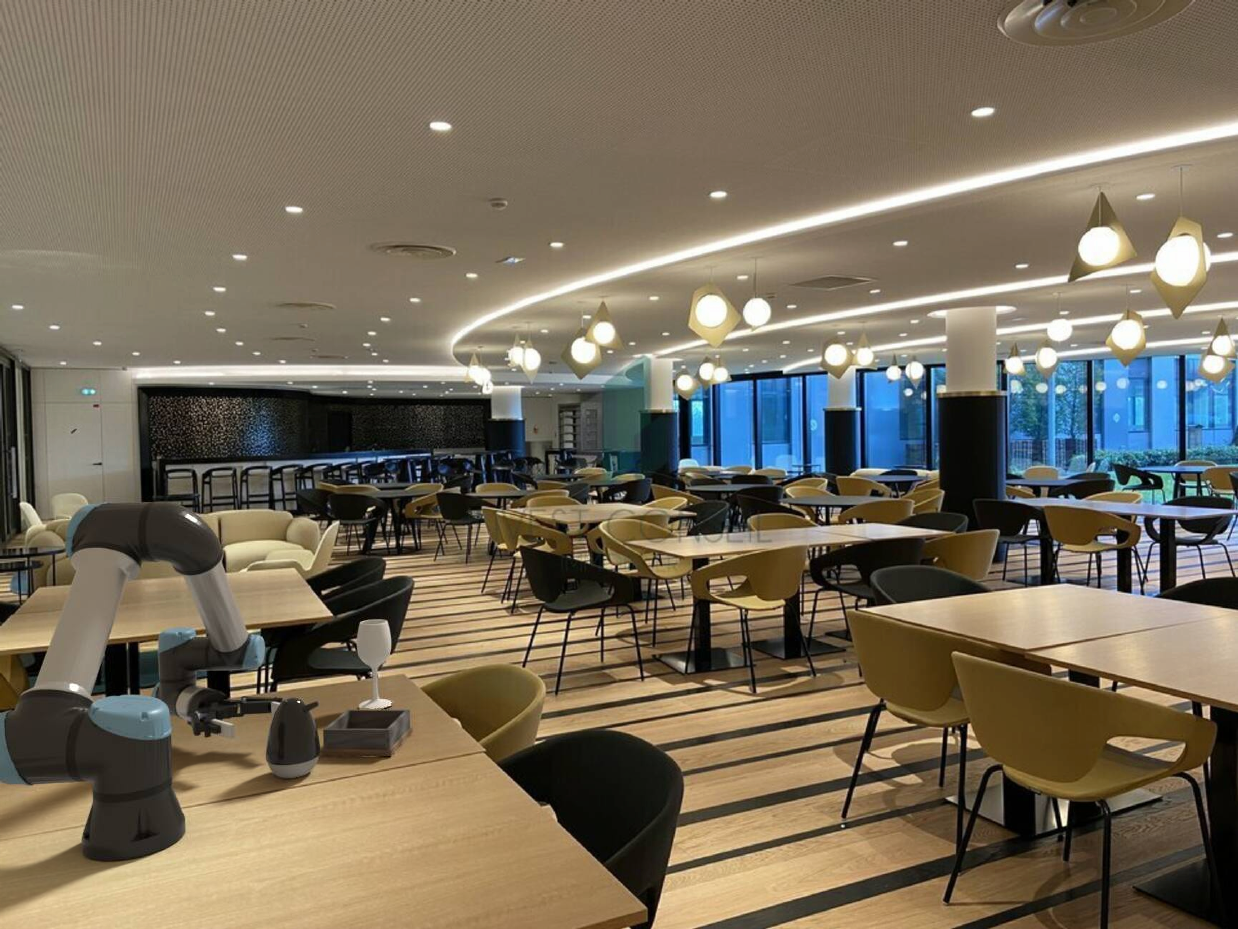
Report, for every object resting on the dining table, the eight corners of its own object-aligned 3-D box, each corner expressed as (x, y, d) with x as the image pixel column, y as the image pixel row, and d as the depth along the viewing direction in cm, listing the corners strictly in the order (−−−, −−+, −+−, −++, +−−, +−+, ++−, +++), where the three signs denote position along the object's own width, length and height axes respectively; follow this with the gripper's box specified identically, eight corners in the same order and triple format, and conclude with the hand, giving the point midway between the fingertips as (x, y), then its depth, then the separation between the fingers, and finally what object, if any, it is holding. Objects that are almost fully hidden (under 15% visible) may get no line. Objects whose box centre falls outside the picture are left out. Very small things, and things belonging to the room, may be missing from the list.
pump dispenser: (311, 783, 173) (308, 705, 172) (257, 784, 173) (255, 705, 172) (329, 764, 183) (327, 690, 182) (278, 764, 183) (276, 690, 183)
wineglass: (398, 701, 227) (396, 618, 226) (386, 711, 218) (384, 625, 217) (365, 700, 227) (363, 618, 227) (351, 711, 219) (349, 625, 218)
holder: (391, 757, 186) (390, 730, 186) (320, 756, 187) (320, 730, 187) (412, 733, 201) (412, 709, 201) (347, 733, 202) (346, 709, 202)
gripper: (255, 707, 205) (315, 723, 194) (147, 739, 185) (206, 759, 173) (254, 675, 205) (313, 688, 193) (145, 703, 185) (205, 720, 173)
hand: (263, 722), depth 183 cm, fingers open, 13 cm apart
